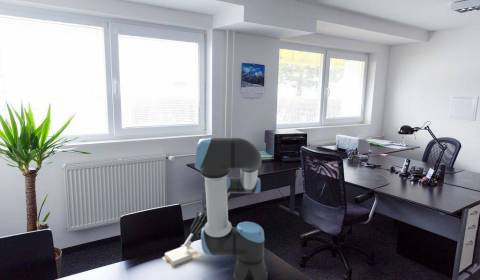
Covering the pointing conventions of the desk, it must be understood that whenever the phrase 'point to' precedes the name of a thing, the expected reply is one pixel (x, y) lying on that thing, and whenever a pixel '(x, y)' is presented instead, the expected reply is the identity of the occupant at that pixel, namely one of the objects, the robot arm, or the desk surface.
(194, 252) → the board
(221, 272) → the desk surface
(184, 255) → the tile
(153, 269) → the desk surface
